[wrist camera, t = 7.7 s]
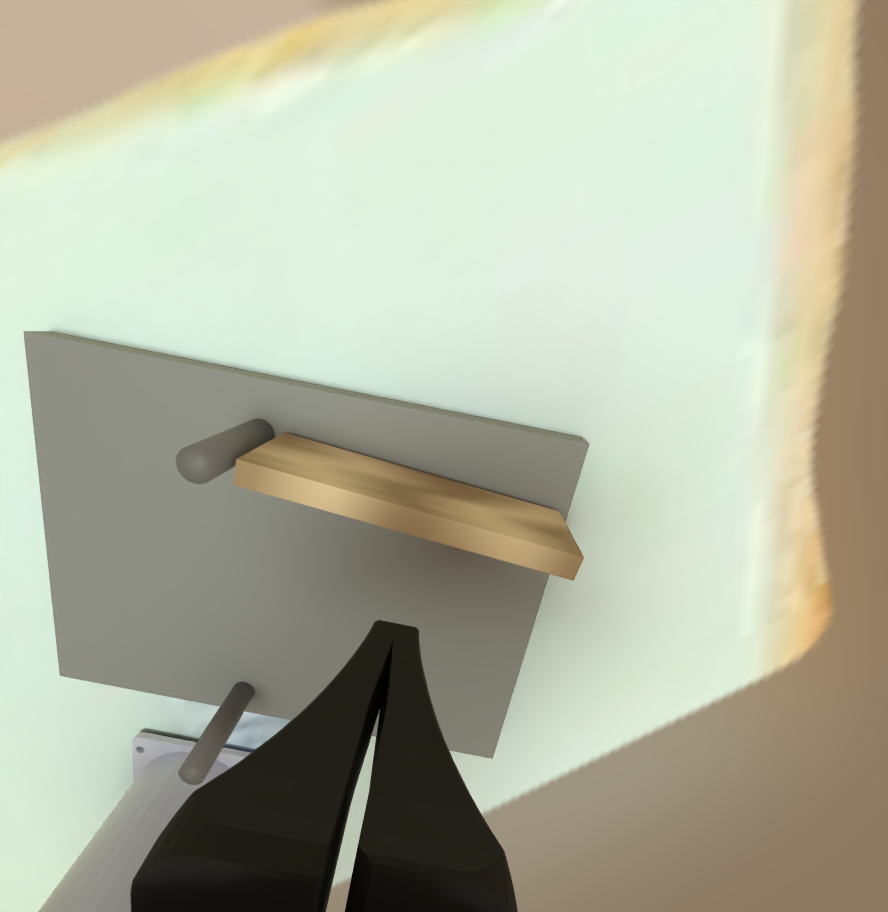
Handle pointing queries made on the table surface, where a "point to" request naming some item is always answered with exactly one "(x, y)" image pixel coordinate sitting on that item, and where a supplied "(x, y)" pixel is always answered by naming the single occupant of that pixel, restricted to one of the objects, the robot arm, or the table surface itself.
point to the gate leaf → (411, 503)
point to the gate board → (267, 540)
